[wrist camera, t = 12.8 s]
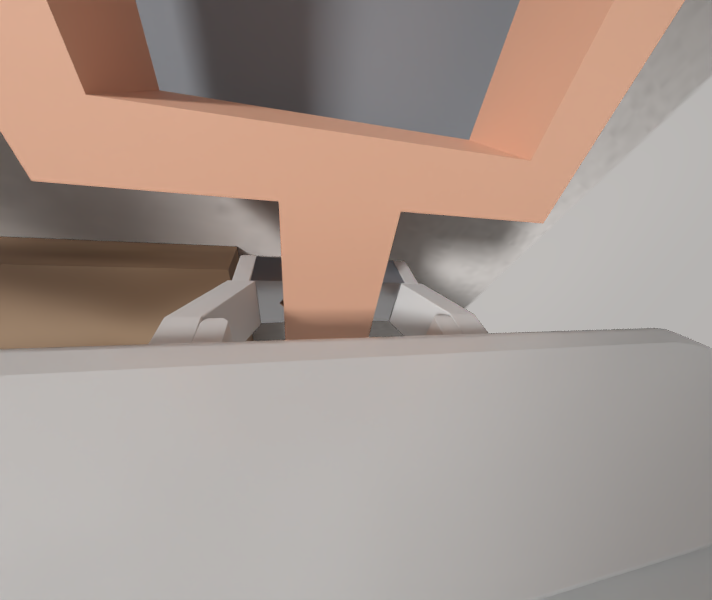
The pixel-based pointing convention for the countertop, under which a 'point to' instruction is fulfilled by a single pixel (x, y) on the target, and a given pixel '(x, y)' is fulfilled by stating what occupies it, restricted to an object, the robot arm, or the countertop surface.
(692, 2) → the countertop surface
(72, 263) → the stand
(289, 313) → the frame
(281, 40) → the mat
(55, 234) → the countertop surface
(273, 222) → the countertop surface
